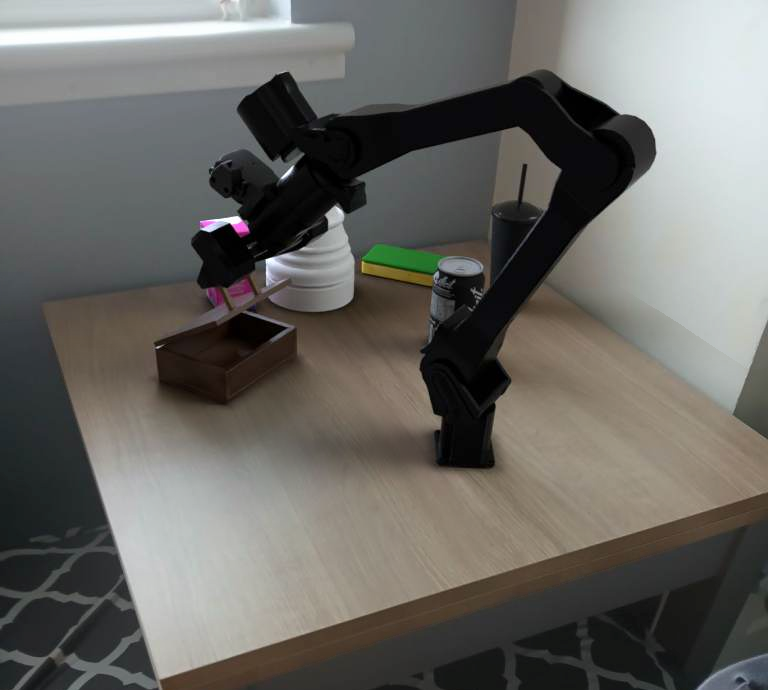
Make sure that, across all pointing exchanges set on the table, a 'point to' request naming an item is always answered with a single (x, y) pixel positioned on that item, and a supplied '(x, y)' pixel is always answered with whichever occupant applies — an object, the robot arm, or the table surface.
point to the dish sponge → (401, 264)
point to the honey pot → (316, 271)
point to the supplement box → (241, 286)
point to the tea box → (228, 356)
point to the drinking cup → (510, 227)
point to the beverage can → (454, 288)
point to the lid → (224, 309)
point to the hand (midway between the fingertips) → (225, 271)
